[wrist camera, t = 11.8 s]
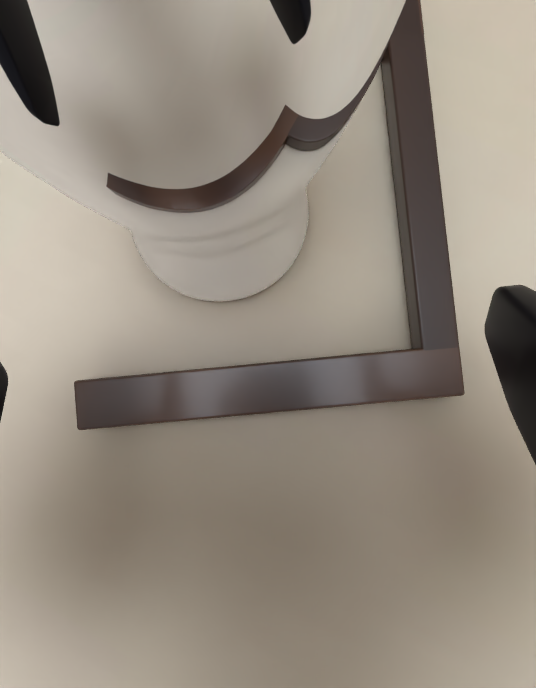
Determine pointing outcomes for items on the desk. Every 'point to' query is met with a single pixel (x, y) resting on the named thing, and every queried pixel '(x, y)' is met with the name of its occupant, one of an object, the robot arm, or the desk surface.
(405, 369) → the frame
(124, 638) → the desk surface
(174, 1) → the beer glass
